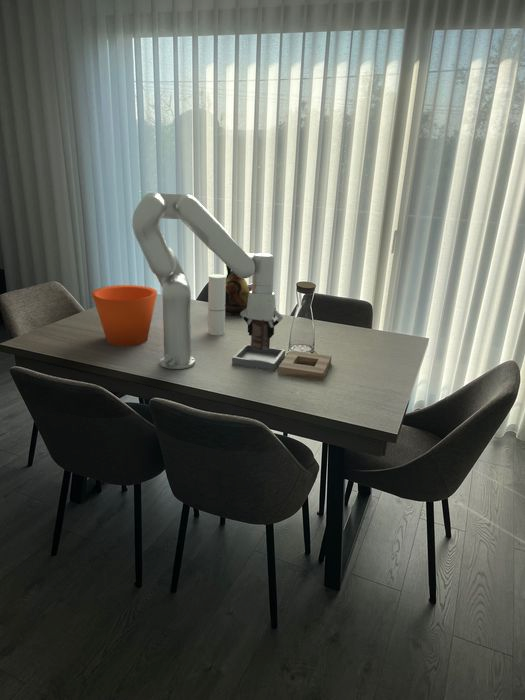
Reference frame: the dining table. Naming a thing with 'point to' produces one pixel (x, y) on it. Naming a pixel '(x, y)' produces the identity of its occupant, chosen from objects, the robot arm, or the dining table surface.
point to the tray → (258, 358)
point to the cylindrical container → (216, 304)
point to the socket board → (305, 365)
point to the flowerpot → (125, 313)
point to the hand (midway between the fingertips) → (260, 335)
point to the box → (260, 334)
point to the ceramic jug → (235, 293)
